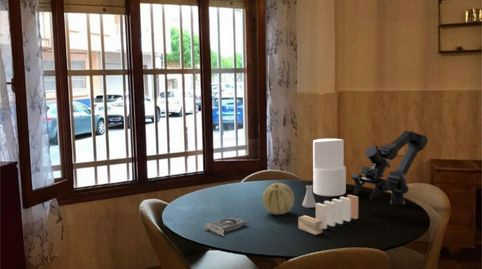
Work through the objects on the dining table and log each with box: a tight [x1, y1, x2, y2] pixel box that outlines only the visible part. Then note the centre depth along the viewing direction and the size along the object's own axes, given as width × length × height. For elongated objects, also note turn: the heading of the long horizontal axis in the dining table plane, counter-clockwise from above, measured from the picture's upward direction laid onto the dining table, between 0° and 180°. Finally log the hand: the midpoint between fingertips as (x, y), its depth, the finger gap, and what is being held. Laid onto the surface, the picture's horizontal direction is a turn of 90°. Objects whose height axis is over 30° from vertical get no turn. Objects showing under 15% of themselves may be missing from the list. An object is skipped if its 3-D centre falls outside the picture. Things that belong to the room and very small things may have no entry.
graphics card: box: [204, 216, 248, 237], centre depth 207 cm, size 17×4×12 cm
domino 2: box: [323, 200, 336, 227], centre depth 207 cm, size 2×5×10 cm, turn 37°
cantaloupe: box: [262, 182, 295, 216], centre depth 224 cm, size 15×15×15 cm
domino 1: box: [315, 202, 328, 230], centre depth 204 cm, size 2×5×10 cm, turn 36°
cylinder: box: [312, 138, 347, 197], centre depth 259 cm, size 17×17×28 cm
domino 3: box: [331, 198, 344, 225], centre depth 210 cm, size 2×5×10 cm, turn 36°
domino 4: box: [339, 196, 352, 222], centre depth 213 cm, size 2×5×10 cm, turn 36°
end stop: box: [297, 215, 323, 236], centre depth 201 cm, size 4×10×5 cm, turn 36°
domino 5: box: [346, 194, 359, 220], centre depth 216 cm, size 2×5×10 cm, turn 37°
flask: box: [301, 185, 316, 209], centre depth 236 cm, size 7×7×10 cm
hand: (362, 196), depth 219 cm, fingers open, 9 cm apart
